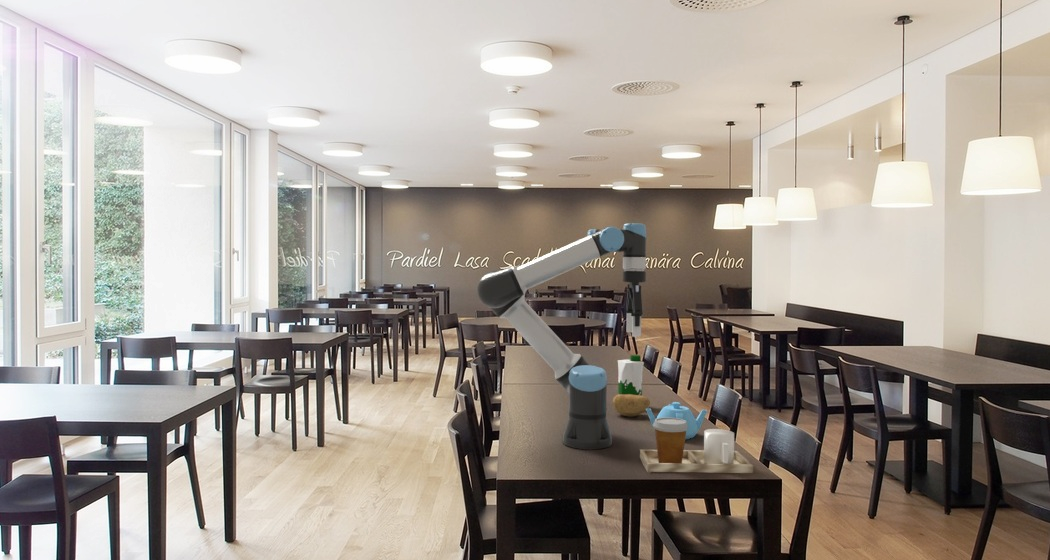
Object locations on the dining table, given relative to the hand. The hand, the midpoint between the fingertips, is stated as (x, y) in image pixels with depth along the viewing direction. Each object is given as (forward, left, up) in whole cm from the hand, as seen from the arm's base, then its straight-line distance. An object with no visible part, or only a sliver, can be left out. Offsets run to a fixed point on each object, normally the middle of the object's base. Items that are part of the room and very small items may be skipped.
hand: (633, 334), depth 221 cm
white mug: (+19, -38, -32) cm, 53 cm away
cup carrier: (+12, -37, -33) cm, 50 cm away
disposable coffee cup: (+5, -36, -32) cm, 49 cm away
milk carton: (+5, +42, -33) cm, 54 cm away
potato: (+3, +25, -33) cm, 41 cm away
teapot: (+14, -2, -33) cm, 36 cm away
